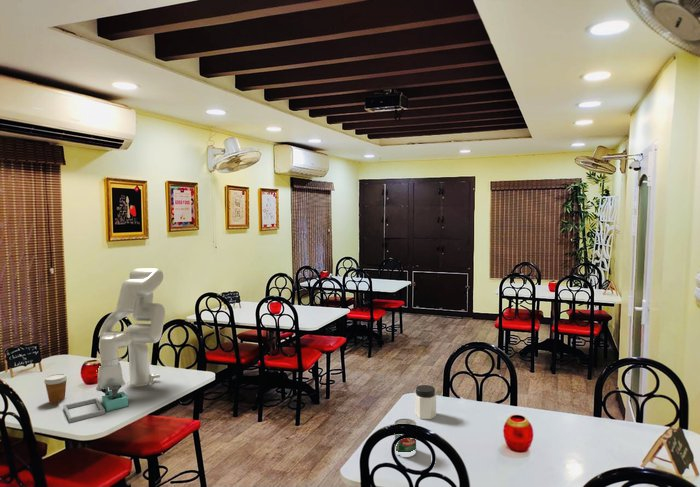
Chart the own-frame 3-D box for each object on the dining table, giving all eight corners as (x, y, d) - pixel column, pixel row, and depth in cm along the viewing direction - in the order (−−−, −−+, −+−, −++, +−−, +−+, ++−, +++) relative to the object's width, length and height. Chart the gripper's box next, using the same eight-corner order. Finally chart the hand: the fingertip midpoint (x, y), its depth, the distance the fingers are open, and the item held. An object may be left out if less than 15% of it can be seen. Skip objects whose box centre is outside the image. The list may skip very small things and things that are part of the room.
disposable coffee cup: (44, 407, 227) (42, 381, 226) (46, 400, 236) (44, 375, 235) (68, 403, 231) (66, 378, 230) (69, 396, 240) (67, 372, 239)
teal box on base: (121, 396, 235) (120, 388, 235) (128, 405, 224) (127, 397, 224) (100, 401, 230) (99, 393, 229) (106, 411, 219) (106, 402, 218)
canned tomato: (408, 460, 175) (407, 430, 175) (390, 452, 181) (390, 423, 180) (420, 451, 181) (420, 422, 180) (403, 444, 187) (402, 416, 186)
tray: (97, 404, 230) (96, 397, 229) (105, 416, 216) (104, 409, 215) (63, 411, 221) (63, 405, 221) (69, 425, 208) (69, 418, 207)
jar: (422, 409, 218) (422, 383, 217) (439, 414, 213) (439, 387, 212) (411, 416, 211) (411, 389, 210) (428, 421, 206) (428, 393, 205)
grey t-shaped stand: (124, 401, 232) (123, 380, 231) (129, 408, 224) (128, 387, 223) (101, 407, 226) (100, 386, 225) (105, 414, 218) (104, 392, 217)
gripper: (126, 356, 237) (128, 394, 239) (88, 363, 227) (91, 402, 229) (130, 360, 231) (132, 398, 233) (92, 368, 222) (94, 407, 223)
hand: (111, 400), depth 231 cm, fingers closed on teal box on base, 2 cm apart
